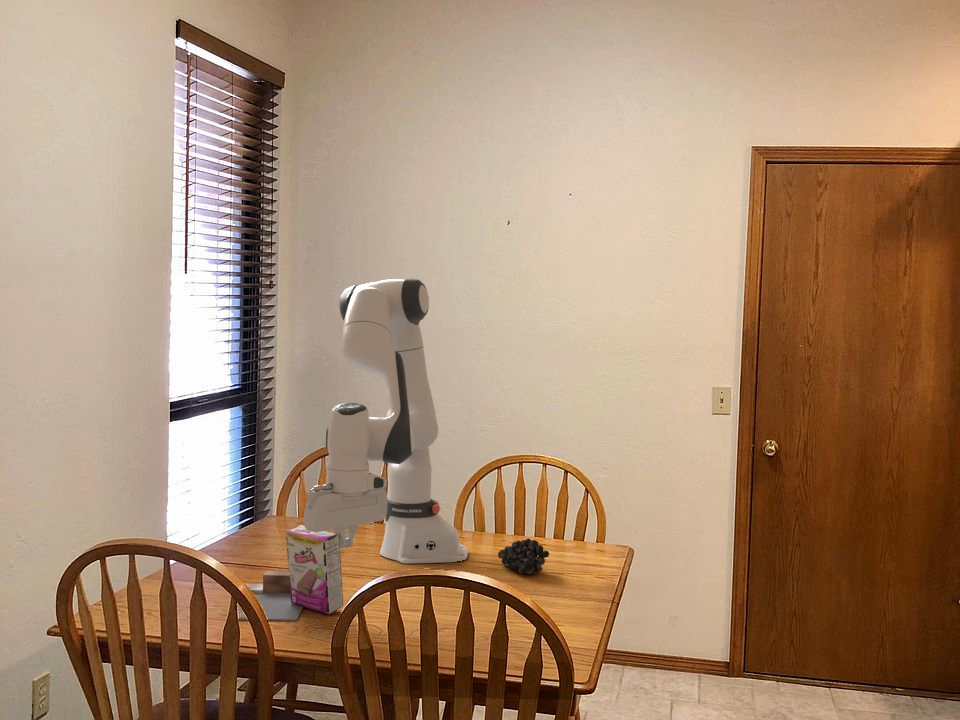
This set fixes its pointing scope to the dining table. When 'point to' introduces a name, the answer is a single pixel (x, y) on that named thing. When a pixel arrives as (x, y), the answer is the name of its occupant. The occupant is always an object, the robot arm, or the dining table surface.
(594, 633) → the dining table surface
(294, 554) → the candy bar box
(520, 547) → the fruit
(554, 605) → the dining table surface
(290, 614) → the mat
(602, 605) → the dining table surface
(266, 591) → the block
